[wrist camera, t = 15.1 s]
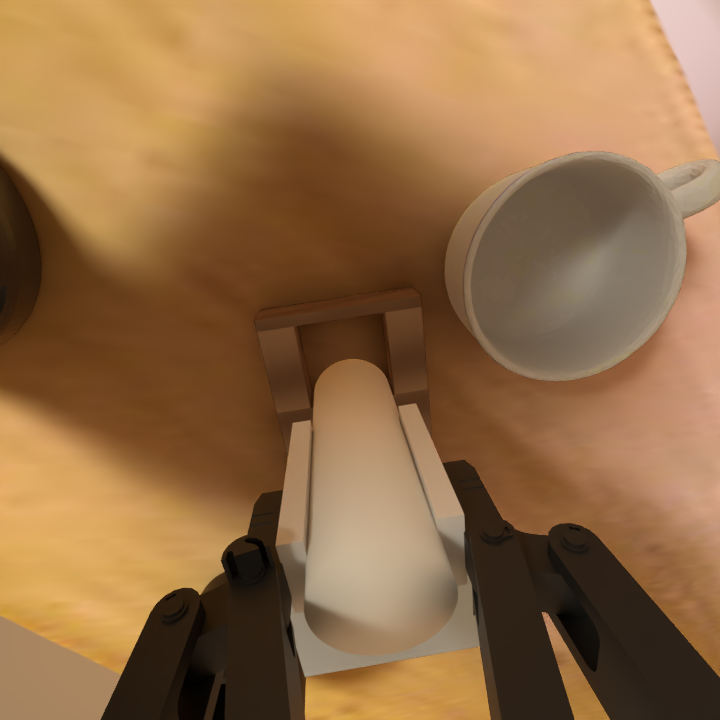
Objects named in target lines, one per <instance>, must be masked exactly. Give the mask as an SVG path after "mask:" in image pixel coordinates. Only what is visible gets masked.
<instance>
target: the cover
mask: <svg viewBox="0 0 720 720" xmlns="http://www.w3.org/2000/svg"><path fill="white" fill-rule="evenodd" d="M467 581H468V584H465V585H459V586H457V588H458V600H457V605H456V608H455V610H454V613H453V615H452V616H451V618H450V620H449V621H448V622H447V623H446V625H445V626H444V627H443V628H442V629H441V630H440V631H439V632H438V633H436V634H435V635H434V636H433V637H431V638H430V639H428V640H427V641H425V642H423V643H421V644H419V645H417V646H415V647H413V648H410V649H408V650H404V651H401V652H397V653H393V654H387V655H377V656H365V655H356V654H350V653H346V652H343V651H340V650H337V649H335V648H333V647H331V646H329V645H327V644H325V643H324V642H322V641H321V640H320V639H319V638H318V637H316V636H315V634H314V633H313V632H312V631H311V629H310V628H309V626H308V624H307V622H306V619H305V615H304V612H300V613H295V612H294V609H293V605H291V617H290V618H291V621H292V625H293V628H294V636H295V643H296V649H297V652H298V656H299V659H300V662H301V666H302V669H303V672H304V676H305V677H309V676H314V675H320V674H326V673H331V672H337V671H343V670H349V669H354V668H360V667H366V666H371V665H377V664H383V663H388V662H394V661H400V660H405V659H411V658H417V657H423V656H428V655H434V654H440V653H445V652H451V651H457V650H462V649H468V648H474V647H479V646H480V644H479V637H478V630H477V624H476V617H475V615H473V597H472V584H471V582H470V579H469V576H468V574H467Z"/></svg>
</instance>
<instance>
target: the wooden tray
mask: <svg viewBox="0 0 720 720" xmlns="http://www.w3.org/2000/svg"><path fill="white" fill-rule="evenodd" d="M378 313H382V320H383V329H384V337H385V346H386V354H387V363H388V371H389V379H387V380H388V383H389V386H390V389H391V392H392V395H393V398H394V401H395V404H396V407H397V410H398V413H399V407H398V406H403V405H409V404H415V403H416V405H417V407H418V409H419V412H420V414H421V416H422V418H423V421H424V423H425V425H426V428H427V430H428V432H429V435H430V437H431V439H432V432H431V419H430V407H429V394H428V382H427V369H426V357H425V344H424V332H423V319H422V307H421V295H420V294H419V293H418V292H417V291H416V290H415V289H414V288H413V287H408V288H401V289H395V290H388V291H382V292H375V293H369V294H362V295H356V296H349V297H342V298H336V299H329V300H323V301H316V302H310V303H303V304H297V305H290V306H284V307H277V308H271V309H264V310H260V312H259V313H258V315H257V317H256V319H255V321H254V322H255V326H256V330H257V334H258V338H259V342H260V346H261V350H262V355H263V359H264V363H265V367H266V371H267V375H268V379H269V383H270V387H271V391H272V395H273V400H274V404H275V408H276V412H277V416H278V420H279V424H280V428H281V432H282V436H283V440H284V445H285V449H286V453H287V457H288V453H289V446H290V439H291V432H292V425H293V423H296V422H302V421H308V420H311V425H312V426H313V406H314V391H311V386H310V381H309V377H308V372H307V367H306V362H305V357H304V352H303V347H302V342H301V337H300V332H299V327H298V326H301V325H307V324H314V323H320V322H327V321H333V320H340V319H346V318H353V317H359V316H366V315H372V314H378Z"/></svg>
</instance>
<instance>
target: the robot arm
mask: <svg viewBox="0 0 720 720" xmlns="http://www.w3.org/2000/svg"><path fill="white" fill-rule="evenodd" d="M40 277H41V260H40V251H39V245H38V241H37V236H36V233H35V230H34V226H33V223H32V221H31V218H30V216H29V213H28V211H27V209H26V207H25V205H24V203H23V201H22V199H21V197H20V195H19V193H18V192H17V190H16V188H15V187H14V185H13V184H12V182H11V181H10V179H9V178H8V176H7V175H6V174H5V172H4V171H3V170H2V168H1V167H0V344H1V343H2V342H4V341H5V340H7V339H8V338H9V337H11V336H12V335H13V334H14V333H15V332H16V331H17V330H18V329H19V328H20V327H21V326H22V324H23V323H24V322H25V320H26V319H27V317H28V316H29V314H30V312H31V310H32V308H33V306H34V303H35V301H36V298H37V294H38V291H39V285H40ZM398 407H399V416H400V421H401V424H402V427H403V430H404V433H405V435H406V438H407V441H408V444H409V447H410V450H411V453H412V456H413V459H414V462H415V465H416V468H417V471H418V474H419V477H420V480H421V483H422V486H423V489H424V492H425V495H426V498H427V501H428V504H429V507H430V510H431V513H432V516H433V519H434V522H435V525H436V528H437V531H438V534H439V536H440V538H441V540H442V542H443V545H444V548H445V551H446V554H447V557H448V560H449V563H450V566H451V568H452V571H453V574H454V577H455V580H456V583H457V586H459V585H465V584H468V581H467V574H468V576H469V579H470V582H471V584H472V597H473V615H475V617H476V624H477V630H478V637H479V644H480V650H481V657H482V663H483V670H484V677H485V683H486V690H487V696H488V703H489V710H490V716H491V720H574V716H573V713H572V710H571V707H570V703H569V700H568V697H567V694H566V690H565V687H564V684H563V681H562V677H561V674H560V671H559V668H558V664H557V661H556V658H555V655H554V651H553V648H552V645H551V642H550V638H549V635H548V632H547V629H546V625H545V622H544V619H543V616H542V612H546V613H548V615H549V616H550V618H551V620H552V621H553V623H554V625H555V626H556V628H557V630H558V631H559V633H560V635H561V637H562V638H563V640H564V642H565V643H566V645H567V647H568V648H569V650H570V652H571V654H572V655H573V657H574V659H575V660H576V662H577V664H578V665H579V667H580V669H581V671H582V672H583V674H584V676H585V677H586V679H587V681H588V682H589V684H590V686H591V688H592V689H593V691H594V693H595V694H596V696H597V698H598V699H599V701H600V703H601V705H602V706H603V708H604V710H605V711H606V713H607V715H608V716H609V718H610V720H720V677H719V676H718V675H717V674H716V673H715V672H714V670H713V669H712V668H711V667H710V666H709V665H708V664H707V662H706V661H705V660H704V659H703V658H702V657H701V655H700V654H699V653H698V652H697V651H696V650H695V649H694V647H693V646H692V645H691V644H690V643H689V642H688V640H687V639H686V638H685V637H684V636H683V635H682V634H681V632H680V631H679V630H678V629H677V628H676V627H675V626H674V624H673V623H672V622H671V621H670V620H669V619H668V617H667V616H666V615H665V614H664V613H663V612H662V611H661V609H660V608H659V607H658V606H657V605H656V604H655V602H654V601H653V600H652V599H651V598H650V597H649V596H648V594H647V593H646V592H645V591H644V590H643V589H642V588H641V586H640V585H639V584H638V583H637V582H636V581H635V579H634V578H633V577H632V576H631V575H630V574H629V573H628V571H627V570H626V569H625V568H624V567H623V566H622V564H621V563H620V562H619V561H618V560H617V559H616V558H615V556H614V555H613V554H612V553H611V552H610V551H609V550H608V548H607V547H606V546H605V545H604V544H603V543H602V541H601V540H600V539H599V538H598V537H597V536H596V535H595V534H594V533H592V532H591V531H590V530H588V529H586V528H584V527H582V526H580V525H575V524H571V523H566V524H559V525H556V526H554V527H552V529H551V530H550V531H549V534H548V536H546V535H536V534H528V533H523V532H520V531H518V530H515V529H514V527H513V526H512V525H511V524H510V523H508V522H507V521H505V520H503V519H502V518H501V516H500V514H499V512H498V510H497V509H496V507H495V505H494V503H493V501H492V499H491V498H490V496H489V494H488V492H487V490H486V488H484V485H483V483H482V481H481V480H480V477H479V476H478V474H477V472H476V470H475V468H474V467H473V466H471V465H470V464H469V463H467V462H466V461H465V460H460V461H454V462H447V463H442V462H441V460H440V458H439V455H438V453H437V451H436V448H435V446H434V444H433V441H432V439H431V437H430V435H429V432H428V430H427V428H426V425H425V423H424V421H423V418H422V416H421V414H420V412H419V409H418V407H417V405H416V403H415V404H409V405H403V406H398ZM312 439H313V429H312V425H311V420H308V421H302V422H296V423H293V425H292V432H291V439H290V446H289V453H288V460H287V467H286V474H285V482H284V489H283V490H281V491H275V492H269V493H263V494H262V495H261V496H260V497H259V499H258V500H257V501H256V503H255V504H254V508H253V512H252V518H251V521H250V527H249V530H248V534H247V535H245V536H243V537H241V538H238V539H236V540H235V541H234V542H232V543H231V544H230V545H229V546H228V547H227V548H226V550H225V551H224V552H223V555H222V559H221V562H222V565H223V567H224V570H225V573H226V576H227V579H228V581H227V582H225V583H224V584H222V585H220V586H219V587H217V588H215V589H212V590H210V591H208V592H206V593H204V594H201V595H199V594H198V592H197V591H195V590H194V589H192V588H181V589H178V590H174V591H173V592H171V593H169V594H167V595H166V596H164V597H163V598H162V599H161V600H160V601H159V602H158V603H157V604H156V605H155V607H154V608H153V610H152V611H151V613H150V615H149V617H148V619H147V621H146V624H145V626H144V628H143V630H142V632H141V634H140V636H139V639H138V641H137V643H136V645H135V647H134V649H133V651H132V654H131V656H130V658H129V660H128V662H127V664H126V666H125V669H124V671H123V673H122V675H121V677H120V679H119V681H118V684H117V686H116V688H115V690H114V692H113V694H112V697H111V699H110V701H109V703H108V705H107V707H106V709H105V712H104V714H103V716H102V718H101V720H212V717H213V713H214V709H215V705H216V702H217V698H218V694H219V690H220V686H221V682H222V678H223V674H224V670H225V669H226V690H225V720H305V714H304V706H303V698H302V690H301V683H300V675H299V667H298V659H297V651H296V643H295V636H294V628H293V625H292V621H291V618H290V617H291V605H293V609H294V612H295V613H300V612H304V592H305V571H306V560H307V545H308V524H309V503H310V481H311V460H312Z"/></svg>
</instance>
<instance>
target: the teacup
mask: <svg viewBox="0 0 720 720" xmlns="http://www.w3.org/2000/svg"><path fill="white" fill-rule="evenodd" d="M719 200H720V162H719V161H717V160H712V159H703V160H698V161H693V162H689V163H685V164H682V165H679V166H676V167H673V168H671V169H668V170H666V171H664V172H661V173H659V174H657V175H656V174H655V173H654V172H652V171H651V170H650V169H649V168H648V167H646V166H644V165H642V164H641V163H639V162H637V161H635V160H633V159H631V158H628V157H625V156H622V155H619V154H616V153H610V152H600V151H589V152H577V153H572V154H568V155H565V156H562V157H558V158H554V159H552V160H549V161H547V162H544V163H542V164H540V165H537V166H534V167H531V168H528V169H525V170H522V171H519V172H517V173H514V174H512V175H510V176H507V177H505V178H503V179H502V180H500V181H498V182H496V183H495V184H493V185H492V186H490V187H489V188H488V189H486V190H485V191H484V192H483V193H481V194H480V195H479V196H478V197H477V198H476V199H475V200H474V201H473V202H472V203H471V204H470V205H469V206H468V208H467V209H466V210H465V212H464V213H463V214H462V216H461V217H460V219H459V221H458V222H457V224H456V226H455V228H454V230H453V232H452V235H451V238H450V240H449V244H448V247H447V251H446V256H445V267H444V272H445V284H446V289H447V293H448V297H449V300H450V303H451V305H452V307H453V309H454V311H455V313H456V315H457V316H458V318H459V319H460V321H461V322H462V323H463V325H464V326H465V327H466V328H467V330H468V331H469V332H470V333H471V334H472V335H473V336H474V337H475V338H476V340H477V341H478V342H479V344H480V345H481V347H482V348H483V349H484V351H485V352H486V353H487V354H488V355H489V356H490V357H491V358H492V359H493V360H494V361H496V362H497V363H498V364H500V365H501V366H503V367H504V368H505V369H508V370H510V371H512V372H514V373H516V374H519V375H522V376H524V377H528V378H532V379H538V380H542V381H569V380H576V379H580V378H586V377H589V376H592V375H595V374H598V373H600V372H602V371H605V370H607V369H609V368H611V367H613V366H615V365H617V364H619V363H620V362H621V361H622V360H624V359H626V358H628V357H629V356H630V355H631V354H632V353H633V352H635V351H636V350H637V349H638V348H640V347H641V346H642V345H644V344H645V343H646V342H647V340H648V339H649V338H650V337H651V336H652V335H653V334H654V333H655V332H656V331H657V330H658V328H659V327H660V326H661V325H662V323H663V321H664V320H665V318H666V317H667V315H668V313H669V312H670V310H671V308H672V306H673V305H674V302H675V300H676V298H677V296H678V293H679V291H680V289H681V283H682V280H683V278H684V273H685V267H686V258H687V244H686V232H685V225H684V220H683V219H685V218H687V217H689V216H692V215H694V214H696V213H699V212H701V211H703V210H705V209H706V208H708V207H710V206H712V205H713V204H715V203H716V202H717V201H719Z"/></svg>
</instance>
